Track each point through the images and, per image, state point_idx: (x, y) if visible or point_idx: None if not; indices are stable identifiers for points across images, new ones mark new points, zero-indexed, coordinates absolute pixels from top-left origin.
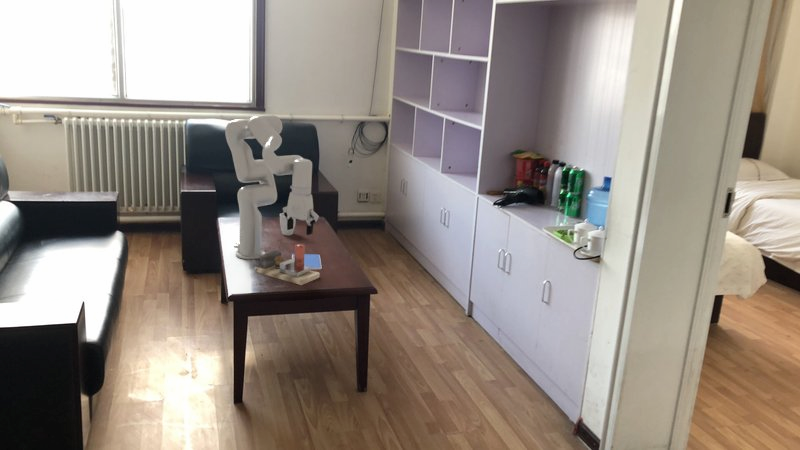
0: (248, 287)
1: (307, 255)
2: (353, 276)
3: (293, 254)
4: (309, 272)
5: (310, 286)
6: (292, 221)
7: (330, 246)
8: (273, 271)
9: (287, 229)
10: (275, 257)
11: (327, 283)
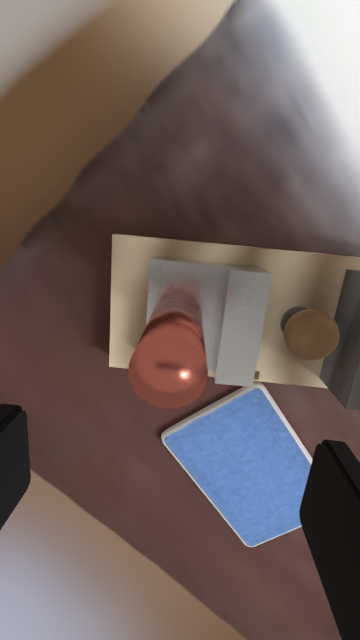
0: (314, 39)
1: (281, 521)
2: None
3: None
4: None
5: (79, 244)
6: (349, 617)
7: (262, 625)
8: (293, 263)
9: (338, 441)
10: (347, 356)
11: (47, 316)
